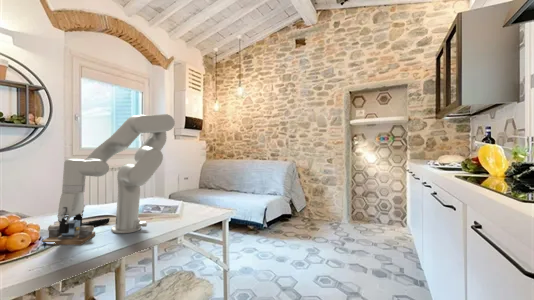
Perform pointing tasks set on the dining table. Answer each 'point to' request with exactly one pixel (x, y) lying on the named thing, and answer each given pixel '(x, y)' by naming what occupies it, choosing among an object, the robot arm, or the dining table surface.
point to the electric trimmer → (96, 222)
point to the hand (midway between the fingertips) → (70, 229)
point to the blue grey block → (73, 228)
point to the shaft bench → (78, 240)
